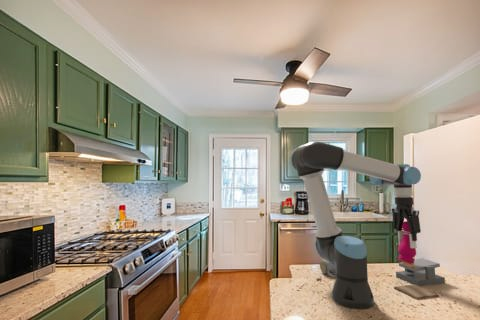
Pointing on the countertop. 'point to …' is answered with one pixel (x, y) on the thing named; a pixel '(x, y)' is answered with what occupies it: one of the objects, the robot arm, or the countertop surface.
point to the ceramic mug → (328, 268)
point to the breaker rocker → (418, 264)
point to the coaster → (416, 291)
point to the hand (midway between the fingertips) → (407, 246)
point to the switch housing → (421, 276)
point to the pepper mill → (406, 246)
